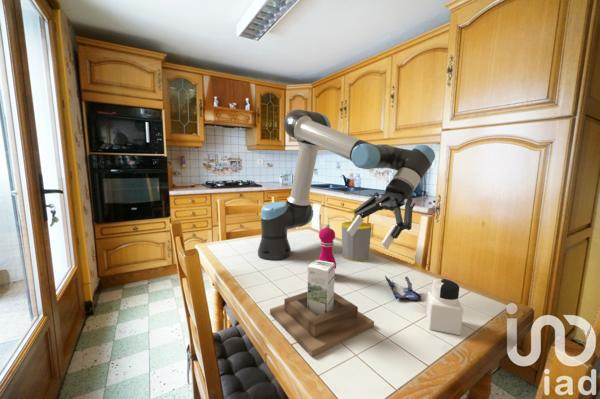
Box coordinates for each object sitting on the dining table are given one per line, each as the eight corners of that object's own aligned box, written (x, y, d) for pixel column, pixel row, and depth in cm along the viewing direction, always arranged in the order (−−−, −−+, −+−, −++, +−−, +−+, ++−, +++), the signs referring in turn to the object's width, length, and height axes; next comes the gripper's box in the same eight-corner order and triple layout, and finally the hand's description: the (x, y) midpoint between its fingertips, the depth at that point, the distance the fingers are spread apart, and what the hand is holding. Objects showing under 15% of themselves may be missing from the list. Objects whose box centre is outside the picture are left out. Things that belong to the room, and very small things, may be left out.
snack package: (420, 289, 92) (384, 282, 96) (422, 273, 90) (385, 266, 94) (420, 313, 81) (380, 303, 86) (422, 295, 79) (381, 286, 84)
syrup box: (334, 312, 74) (335, 261, 72) (326, 323, 69) (327, 269, 67) (314, 307, 76) (315, 258, 74) (306, 318, 71) (306, 265, 69)
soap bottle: (339, 251, 128) (340, 207, 125) (366, 251, 127) (368, 207, 124) (342, 261, 115) (344, 213, 112) (373, 262, 114) (375, 213, 111)
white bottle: (454, 320, 73) (458, 278, 72) (460, 336, 67) (465, 290, 65) (425, 315, 76) (429, 274, 74) (429, 330, 69) (432, 285, 67)
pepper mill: (335, 281, 96) (336, 227, 93) (315, 279, 98) (315, 225, 95) (336, 273, 103) (337, 222, 100) (317, 271, 105) (318, 221, 102)
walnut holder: (269, 313, 76) (269, 297, 75) (325, 294, 87) (325, 280, 86) (311, 357, 59) (311, 336, 58) (373, 326, 70) (374, 308, 69)
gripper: (445, 199, 76) (408, 260, 70) (376, 189, 97) (343, 235, 91) (436, 181, 72) (396, 243, 67) (367, 175, 93) (332, 222, 87)
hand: (365, 239), depth 79 cm, fingers open, 13 cm apart
